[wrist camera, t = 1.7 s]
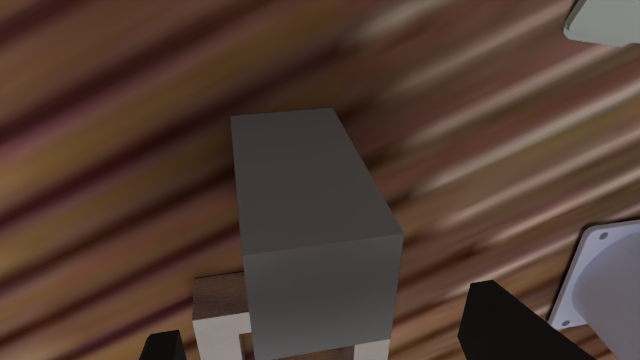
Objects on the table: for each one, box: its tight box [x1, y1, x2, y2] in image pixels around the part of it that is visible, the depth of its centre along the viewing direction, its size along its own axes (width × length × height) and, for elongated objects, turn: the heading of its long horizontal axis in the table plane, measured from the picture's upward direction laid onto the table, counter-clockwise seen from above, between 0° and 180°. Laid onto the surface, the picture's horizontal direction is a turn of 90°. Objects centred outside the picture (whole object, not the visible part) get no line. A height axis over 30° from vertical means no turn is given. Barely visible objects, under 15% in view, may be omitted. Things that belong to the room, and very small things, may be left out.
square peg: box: [230, 107, 404, 360], centre depth 15 cm, size 4×4×8 cm
